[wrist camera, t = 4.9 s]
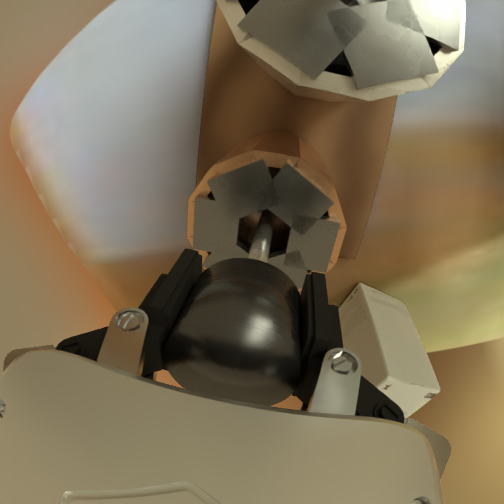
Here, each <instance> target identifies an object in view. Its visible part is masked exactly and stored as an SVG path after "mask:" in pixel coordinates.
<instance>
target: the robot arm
mask: <svg viewBox="0 0 504 504" xmlns="http://www.w3.org/2000/svg"><path fill="white" fill-rule="evenodd" d="M201 274H202V255H200V254H199V252H198V251H196V250H191V249H185V250H184V251H183V253H182V254H181V256H180V257H179V259H178V260H177V262H176V263H175V265H174V266H173V268H172V269H171V271H170V272H169V274H168V275H167V274H161V275H160V277H159V278H158V280H157V281H156V283H155V284H154V285H153V287H152V288H151V290H150V291H149V293H148V294H147V296H146V297H145V299H144V300H143V302H142V303H141V305H140V306H139V308H124V309H121V310H119V311H117V312H116V313H115V314H114V315H113V317H112V319H111V321H110V324H109V326H108V327H104V328H101V329H97V330H94V331H91V332H88V333H84V334H80V335H77V336H73V337H70V338H67V339H65V340H63V341H61V342H60V343H59V344H58V346H57V347H54V346H53V345H47V346H39V347H31V348H23V349H16V350H13V351H11V352H10V353H8V354H7V356H6V357H5V360H4V367H3V373H2V374H1V375H0V504H442V491H441V484H440V479H441V476H442V474H443V472H444V469H445V466H446V464H447V462H448V459H449V457H450V453H451V446H450V443H449V442H448V440H447V439H446V438H445V437H443V436H441V435H440V434H438V433H436V432H435V431H433V430H431V429H429V428H428V427H426V426H424V425H422V424H421V423H419V422H417V421H416V420H413V419H412V418H409V419H406V418H404V413H403V411H402V409H401V408H400V407H399V406H398V405H397V404H396V403H395V402H394V401H392V400H391V399H390V398H389V397H388V396H386V395H385V394H384V393H383V392H381V391H380V390H379V389H378V388H377V387H375V386H374V385H373V384H372V383H370V382H369V381H368V380H367V379H366V378H364V377H363V376H362V375H361V370H362V363H361V361H360V359H359V357H358V356H357V355H356V354H355V353H353V352H352V351H350V350H347V349H344V348H343V340H342V332H341V325H340V317H339V310H338V307H337V306H334V305H328V296H327V288H326V280H325V274H323V273H318V272H311V275H310V274H306V277H305V280H304V284H303V287H302V291H301V295H300V297H301V302H302V329H301V371H300V381H299V385H298V387H297V388H296V390H295V391H294V392H293V393H292V395H293V396H297V397H298V398H299V399H300V400H301V401H302V404H301V407H300V410H292V409H284V408H277V407H271V406H264V405H258V404H252V403H247V402H241V401H236V400H231V399H226V398H221V397H217V396H212V395H208V394H203V393H199V392H195V391H191V390H187V389H183V388H179V387H176V386H172V385H168V384H164V383H161V382H158V381H156V375H157V371H160V370H162V369H164V370H167V371H168V369H167V367H166V365H165V362H164V354H163V352H164V347H165V345H166V342H167V340H168V338H169V336H170V334H171V332H172V330H173V328H174V326H175V324H176V322H177V320H178V318H179V316H180V314H181V312H182V310H183V308H184V306H185V303H186V301H187V299H188V297H189V296H190V294H191V292H192V290H193V288H194V286H195V284H196V282H197V280H198V278H199V277H200V275H201Z"/></svg>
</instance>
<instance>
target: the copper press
mask: <svg viewBox="0 0 504 504" xmlns="http://www.w3.org/2000/svg"><path fill="white" fill-rule="evenodd" d="M268 166H269V167H275V168H281V169H280V170H279V171H278V172H277V173H276V174H275V176H274V177H272V174H271V172H270V169H269V167H268ZM265 209H268V210H270V211H271V212H272V213H274V214H275V215H276V216H277V217H279V218H280V219H281V220H282V221H284V222H285V223H286V224H287V225H289V226H290V227H291V228H290V233H289V237H288V242H287V246H285V247H280V248H270V249H269V255H268V260H267V263H269V264H271V265H273V266H275V267H277V268H278V269H280V270H281V271H283V272H284V273H285V274H286V275H288V276H289V278H290V279H291V280H292V281H293V282H294V284H295V285H296V287H297V289H298V291H302V287H303V284H304V280H305V277H306V274H310V275H311V272H318V273H323V274H326V273H327V272H328V271H329V270H330V269H331V268H332V267H333V266H334V265H335V263H336V262H337V259H338V256H339V253H340V249H341V246H342V243H343V239H344V236H345V232H346V229H347V226H346V223H345V219H344V216H343V212H342V209H341V206H340V202H339V199H338V196H337V193H336V190H335V187H334V185H333V182H332V180H331V178H330V176H329V173H328V171H327V169H326V167H325V165H324V163H323V160H322V158H321V156H320V154H319V153H318V152H317V151H315V150H314V149H313V148H312V147H311V146H310V145H309V144H308V143H307V142H306V141H304V140H303V139H301V138H300V137H299V136H298V137H297V136H296V135H292V134H289V133H285V132H272V131H270V132H269V131H268V132H266V133H262V134H259V135H256V136H254V137H252V138H250V139H247V140H245V141H243V142H242V143H240V144H239V145H238V146H237V147H235V148H234V149H233V150H231V151H230V152H229V153H228V154H226V155H225V156H224V157H223V158H222V159H220V160H219V161H218V162H217V163H215V164H214V165H213V166H212V167H211V168H210V169H209V171H208V172H207V174H206V175H205V176H204V178H203V179H202V181H201V182H200V183H199V185H198V186H197V188H196V189H195V191H194V192H193V193H192V195H191V196H190V198H189V200H188V218H187V238H188V240H189V242H190V244H191V246H192V248H193V250H196V251H198V252H199V254H200V255H202V266H203V268H204V269H205V270H206V269H207V268H208V267H210V266H211V265H213V264H215V263H217V262H220V261H222V260H226V259H231V258H248V255H249V251H250V248H251V245H252V244H251V243H249V242H247V241H245V240H244V239H243V238H241V237H240V236H239V227H240V219H241V218H242V217H245V216H248V215H250V214H253V213H256V212H259V211H262V210H265Z"/></svg>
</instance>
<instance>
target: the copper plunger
mask: <svg viewBox="0 0 504 504" xmlns="http://www.w3.org/2000/svg"><path fill="white" fill-rule="evenodd" d="M268 167H269V166H268ZM269 169H270V172H271V174H272V177H274V176H275V174H276V173H277V172H278V171H279V170H280V169H281V168H275V167H269ZM290 228H291V227H290V226H289V225H287V224H286V223H285V222H284V221H282V220H281V219H280V218H279V217H277V216H276V215H275V214H274V213H272V212H271V211H270V210H268V209H265V210H262V211H259V212H256V213H253V214H250V215H248V216H245V217H242V218H241V219H240V227H239V236H240V237H241V238H243V239H244V240H245V241H247V242H249V243H251V244H252V245H251V248H250V251H249V255H248V258H231V259H226V260H222V261H220V262H217V263H215V264H213V265H211V266H210V267H208V268H207V269H206V270H205V271H204V272H203V273H202V274H201V275H200V277H199V278H198V280H197V282H196V284H195V286H194V288H193V290H192V292H191V294H190V296H189V297H188V299H187V301H186V303H185V306H184V308H183V310H182V312H181V314H180V316H179V318H178V320H177V322H176V324H175V326H174V328H173V330H172V332H171V334H170V336H169V338H168V340H167V342H166V345H165V347H164V352H163V354H164V362H165V365H166V367H167V369H168V371H169V373H170V374H171V375H172V377H173V378H174V379H175V380H176V381H177V382H178V383H179V384H180V385H181V386H182V387H183V388H185V389H187V390H191V391H195V392H199V393H203V394H208V395H212V396H217V397H221V398H226V399H231V400H236V401H241V402H247V403H252V404H258V405H264V406H271V405H274V404H277V403H279V402H281V401H283V400H285V399H286V398H288V397H289V396H290V395H291V394H292V393H293V392H294V391H295V390H296V388H297V387H298V385H299V381H300V371H301V329H302V302H301V297H300V293H299V291H298V289H297V287H296V285H295V284H294V282H293V281H292V280H291V279H290V278H289V276H288V275H286V274H285V273H284V272H283V271H281V270H280V269H278V268H277V267H275V266H273V265H271V264H269V263H267V260H268V255H269V249H270V248H280V247H285V246H287V242H288V237H289V233H290Z"/></svg>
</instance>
